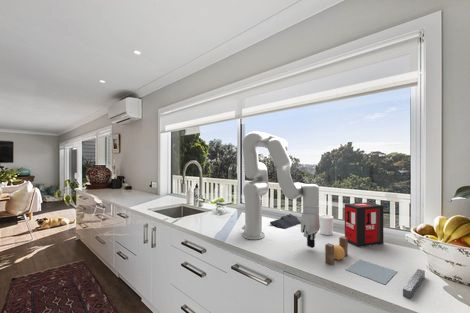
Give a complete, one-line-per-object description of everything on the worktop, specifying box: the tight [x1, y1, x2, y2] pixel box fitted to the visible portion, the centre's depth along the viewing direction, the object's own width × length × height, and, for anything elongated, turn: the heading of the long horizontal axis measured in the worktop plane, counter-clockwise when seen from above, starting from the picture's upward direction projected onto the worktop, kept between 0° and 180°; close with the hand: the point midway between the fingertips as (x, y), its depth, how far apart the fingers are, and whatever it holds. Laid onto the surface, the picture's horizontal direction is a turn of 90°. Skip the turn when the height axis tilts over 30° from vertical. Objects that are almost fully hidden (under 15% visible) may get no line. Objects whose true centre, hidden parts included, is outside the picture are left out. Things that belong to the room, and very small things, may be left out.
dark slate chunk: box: [269, 213, 301, 230], centre depth 156 cm, size 15×22×5 cm
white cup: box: [319, 214, 334, 236], centre depth 136 cm, size 8×8×10 cm
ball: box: [333, 244, 346, 261], centre depth 102 cm, size 6×6×6 cm
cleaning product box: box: [344, 201, 384, 248], centre depth 122 cm, size 16×9×20 cm, turn 105°
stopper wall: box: [402, 268, 426, 300], centre depth 81 cm, size 2×20×2 cm, turn 130°
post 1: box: [324, 243, 335, 266], centre depth 98 cm, size 3×3×8 cm
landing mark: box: [345, 258, 398, 285], centre depth 92 cm, size 14×14×1 cm
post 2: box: [338, 236, 349, 257], centre depth 106 cm, size 3×3×8 cm
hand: (310, 246), depth 112 cm, fingers closed
